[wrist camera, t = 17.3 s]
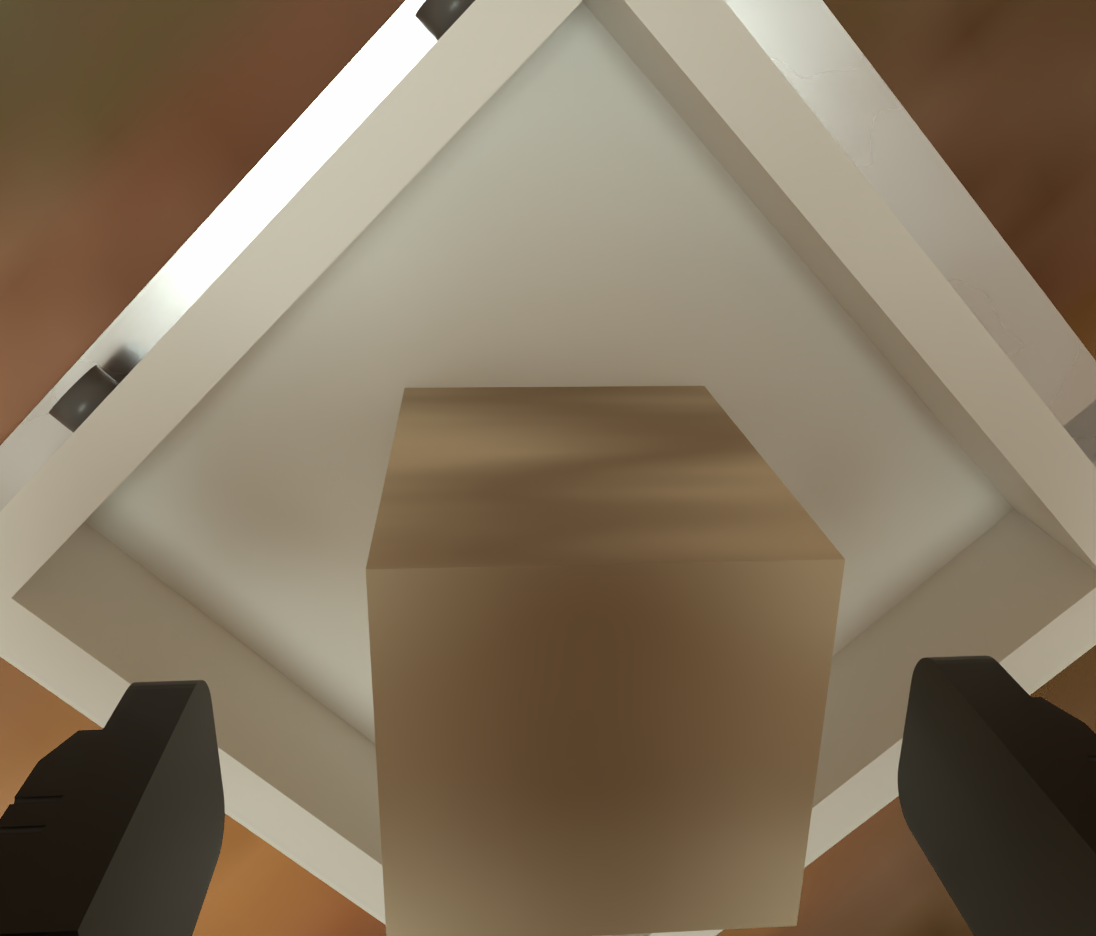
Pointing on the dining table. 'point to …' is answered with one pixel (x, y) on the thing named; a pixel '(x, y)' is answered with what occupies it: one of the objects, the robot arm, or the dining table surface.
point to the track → (814, 72)
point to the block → (593, 666)
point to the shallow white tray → (544, 361)
